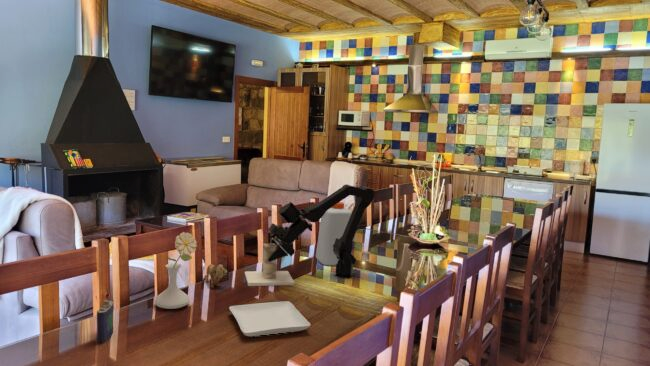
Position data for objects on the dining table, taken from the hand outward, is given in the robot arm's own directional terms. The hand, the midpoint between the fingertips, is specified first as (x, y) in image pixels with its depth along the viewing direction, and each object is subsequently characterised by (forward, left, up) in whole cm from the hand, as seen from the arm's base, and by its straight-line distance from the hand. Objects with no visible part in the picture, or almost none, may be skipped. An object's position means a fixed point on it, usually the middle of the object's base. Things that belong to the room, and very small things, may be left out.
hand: (266, 258), depth 193 cm
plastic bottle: (-15, -40, -9) cm, 44 cm away
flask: (+16, +67, -9) cm, 70 cm away
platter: (-1, -1, -9) cm, 9 cm away
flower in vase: (+14, +39, -9) cm, 42 cm away
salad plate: (-20, +37, -9) cm, 43 cm away
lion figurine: (+14, +14, -9) cm, 22 cm away
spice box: (-1, -1, -8) cm, 8 cm away
